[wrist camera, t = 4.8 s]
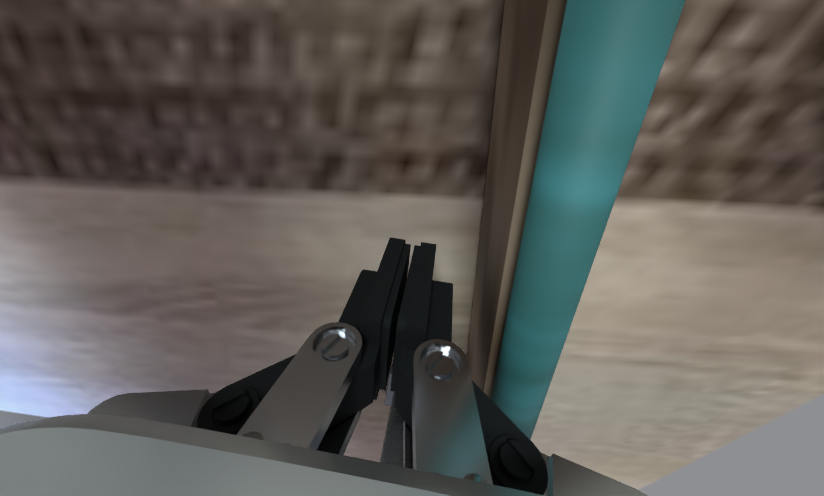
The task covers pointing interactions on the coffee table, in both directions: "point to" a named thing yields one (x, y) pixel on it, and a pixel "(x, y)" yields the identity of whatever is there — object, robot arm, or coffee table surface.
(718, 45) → the coffee table surface
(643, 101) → the gate
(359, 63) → the coffee table surface
